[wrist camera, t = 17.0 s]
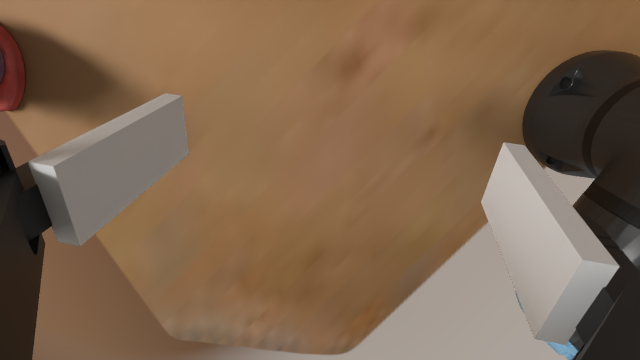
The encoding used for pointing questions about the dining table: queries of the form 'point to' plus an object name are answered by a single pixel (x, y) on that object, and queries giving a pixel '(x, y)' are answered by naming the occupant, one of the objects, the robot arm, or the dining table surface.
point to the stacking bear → (10, 72)
